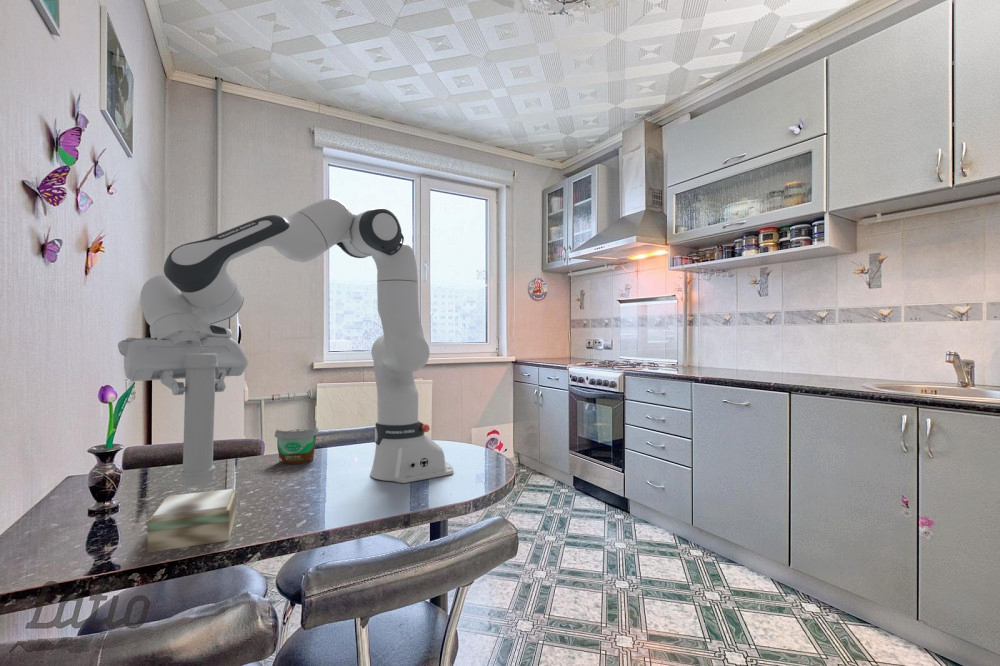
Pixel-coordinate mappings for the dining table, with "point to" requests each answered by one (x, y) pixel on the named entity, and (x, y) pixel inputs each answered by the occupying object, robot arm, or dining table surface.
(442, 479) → the dining table surface
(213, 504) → the stand
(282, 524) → the dining table surface
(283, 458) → the food container
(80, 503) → the dining table surface
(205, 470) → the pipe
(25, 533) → the dining table surface
